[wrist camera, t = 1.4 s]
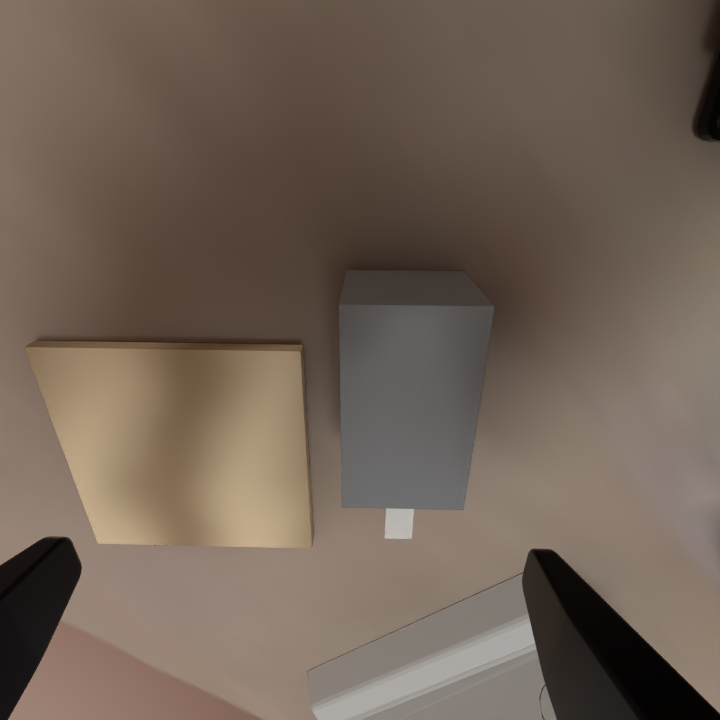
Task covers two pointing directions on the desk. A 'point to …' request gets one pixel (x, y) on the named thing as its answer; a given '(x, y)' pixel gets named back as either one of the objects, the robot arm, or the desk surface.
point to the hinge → (442, 667)
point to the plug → (410, 389)
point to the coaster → (183, 439)
